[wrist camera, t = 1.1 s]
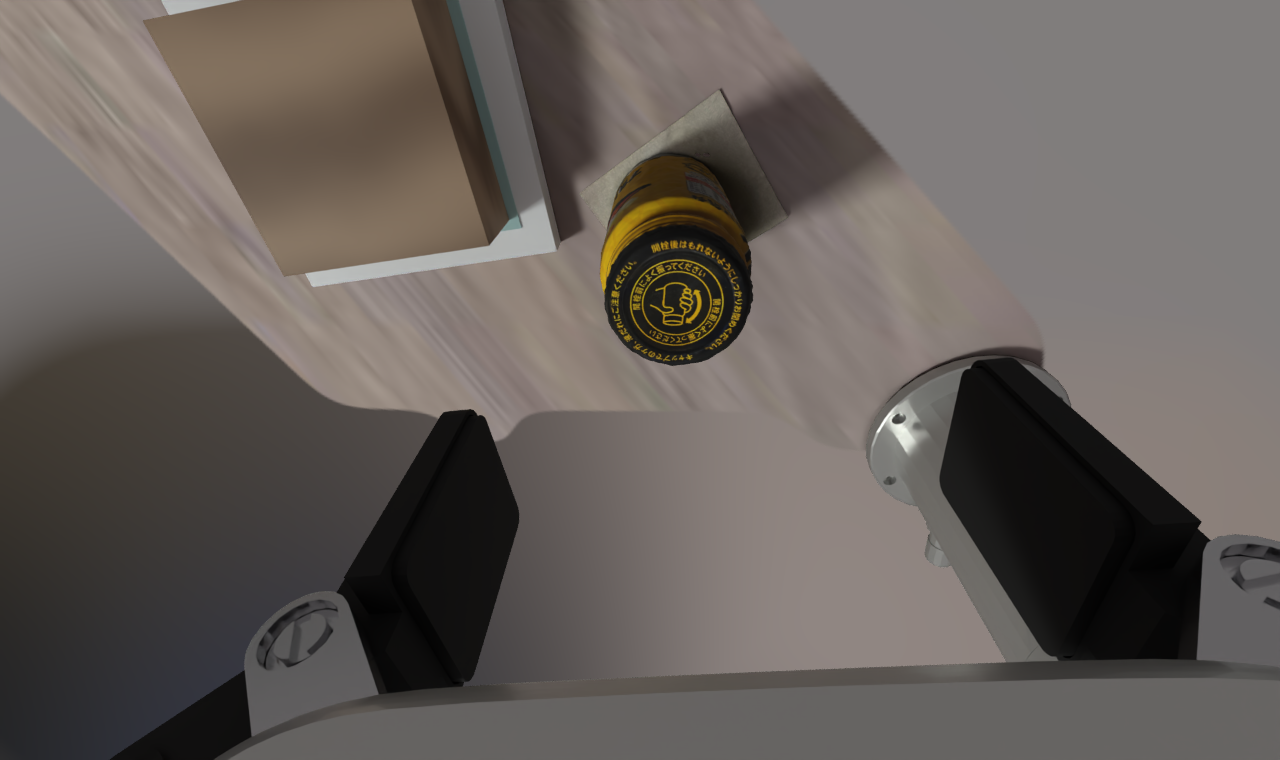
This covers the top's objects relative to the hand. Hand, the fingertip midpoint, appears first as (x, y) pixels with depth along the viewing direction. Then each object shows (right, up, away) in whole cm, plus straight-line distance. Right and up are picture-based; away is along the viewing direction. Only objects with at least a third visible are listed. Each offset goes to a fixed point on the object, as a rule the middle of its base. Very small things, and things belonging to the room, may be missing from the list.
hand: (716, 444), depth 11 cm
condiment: (+1, +11, +18) cm, 21 cm away
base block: (-14, +13, +14) cm, 24 cm away
